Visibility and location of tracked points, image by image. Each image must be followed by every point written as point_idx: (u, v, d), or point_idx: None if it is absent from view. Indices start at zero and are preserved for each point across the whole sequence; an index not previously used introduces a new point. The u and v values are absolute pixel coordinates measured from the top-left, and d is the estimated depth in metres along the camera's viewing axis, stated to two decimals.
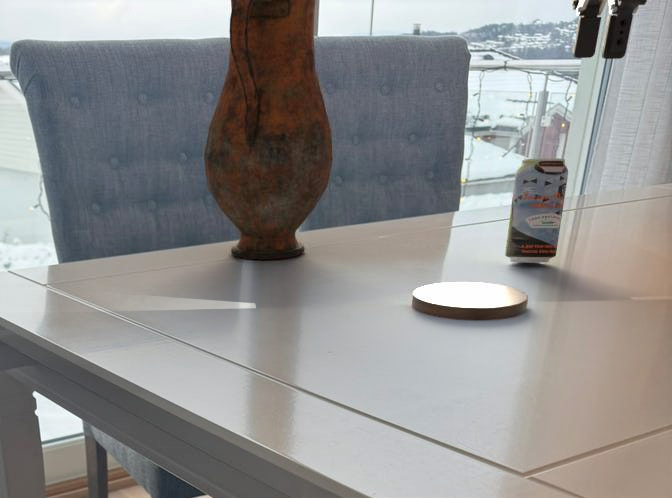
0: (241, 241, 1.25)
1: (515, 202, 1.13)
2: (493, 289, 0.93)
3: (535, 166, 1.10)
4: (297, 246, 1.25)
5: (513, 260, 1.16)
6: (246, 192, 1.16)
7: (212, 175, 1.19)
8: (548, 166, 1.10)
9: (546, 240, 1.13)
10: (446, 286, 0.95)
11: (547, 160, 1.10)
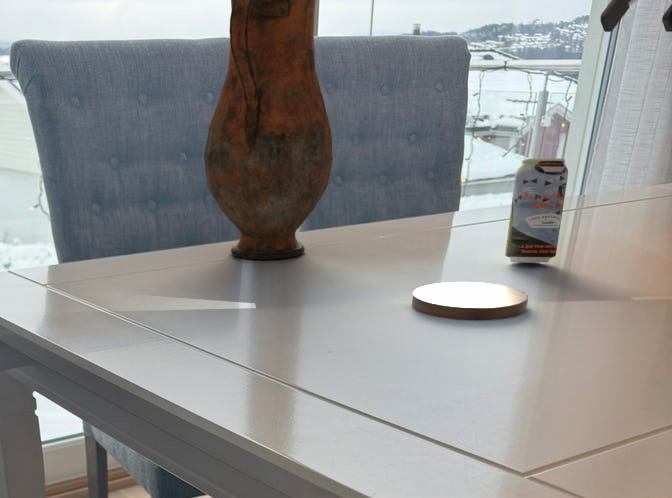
0: (241, 241, 1.25)
1: (515, 202, 1.13)
2: (493, 289, 0.93)
3: (535, 166, 1.10)
4: (297, 246, 1.25)
5: (513, 260, 1.16)
6: (246, 192, 1.16)
7: (212, 175, 1.19)
8: (548, 166, 1.10)
9: (546, 240, 1.13)
10: (446, 286, 0.95)
11: (547, 160, 1.10)
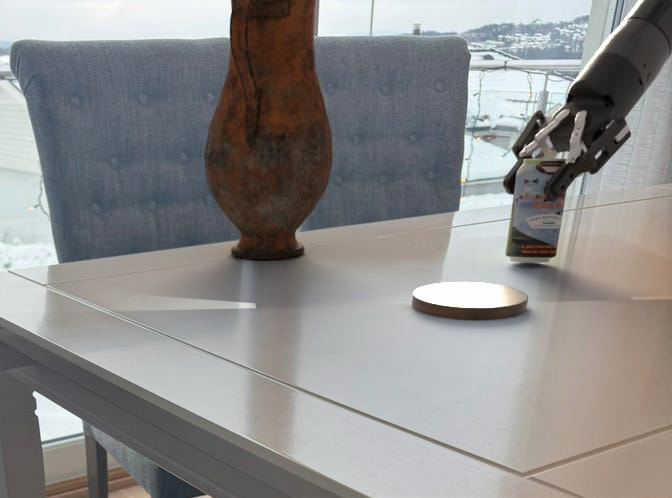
0: (241, 241, 1.25)
1: (516, 201, 1.13)
2: (493, 289, 0.93)
3: (536, 166, 1.10)
4: (297, 246, 1.25)
5: (513, 260, 1.16)
6: (246, 192, 1.16)
7: (212, 175, 1.19)
8: (549, 166, 1.10)
9: (546, 240, 1.13)
10: (446, 286, 0.95)
11: (548, 160, 1.10)
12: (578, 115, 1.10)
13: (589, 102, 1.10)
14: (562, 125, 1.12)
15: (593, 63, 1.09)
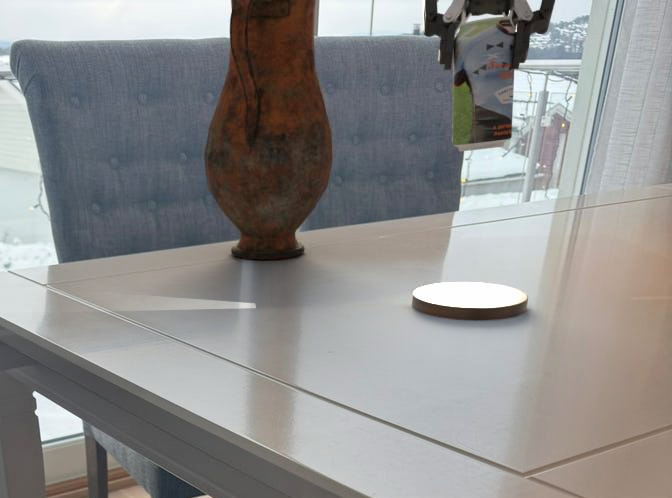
0: (241, 241, 1.25)
1: (476, 74, 0.93)
2: (493, 289, 0.93)
3: (498, 27, 0.91)
4: (297, 246, 1.25)
5: (476, 147, 0.97)
6: (246, 192, 1.16)
7: (212, 175, 1.19)
8: (509, 26, 0.92)
9: (511, 118, 0.96)
10: (446, 286, 0.95)
11: (505, 19, 0.92)
12: None
13: None
14: None
15: None
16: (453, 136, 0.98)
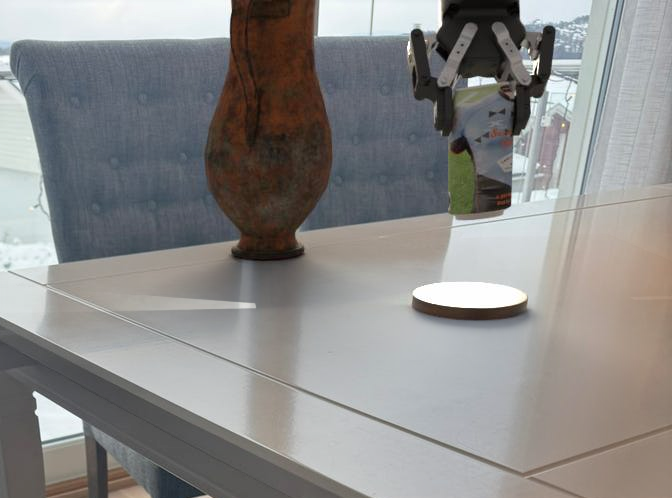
0: (241, 241, 1.25)
1: (478, 142, 0.88)
2: (493, 289, 0.93)
3: (499, 93, 0.86)
4: (297, 246, 1.25)
5: (478, 217, 0.91)
6: (246, 192, 1.16)
7: (212, 175, 1.19)
8: (509, 92, 0.87)
9: (511, 185, 0.91)
10: (446, 286, 0.95)
11: (506, 84, 0.86)
12: (494, 28, 0.88)
13: (485, 13, 0.89)
14: (471, 43, 0.89)
15: None
16: (451, 205, 0.92)
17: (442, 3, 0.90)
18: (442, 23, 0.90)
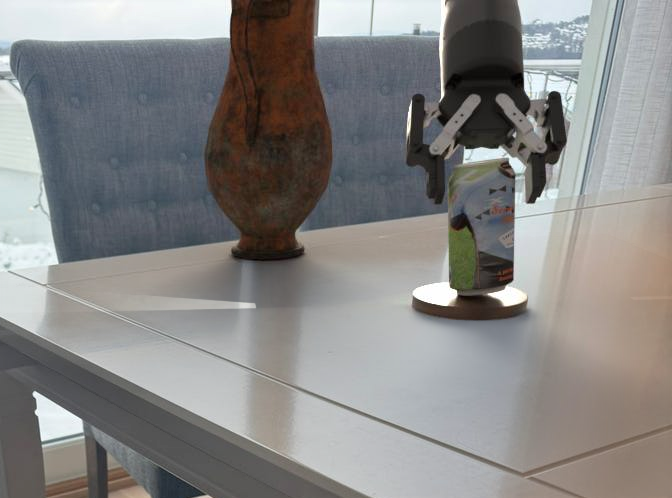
0: (241, 241, 1.25)
1: (478, 219, 0.86)
2: None
3: (500, 170, 0.84)
4: (297, 246, 1.25)
5: (480, 293, 0.89)
6: (246, 192, 1.16)
7: (212, 175, 1.19)
8: (510, 168, 0.85)
9: (513, 260, 0.89)
10: (446, 286, 0.95)
11: (506, 161, 0.85)
12: (498, 100, 0.86)
13: (489, 84, 0.87)
14: (474, 114, 0.86)
15: (484, 34, 0.85)
16: (452, 280, 0.90)
17: (445, 73, 0.88)
18: (444, 93, 0.87)
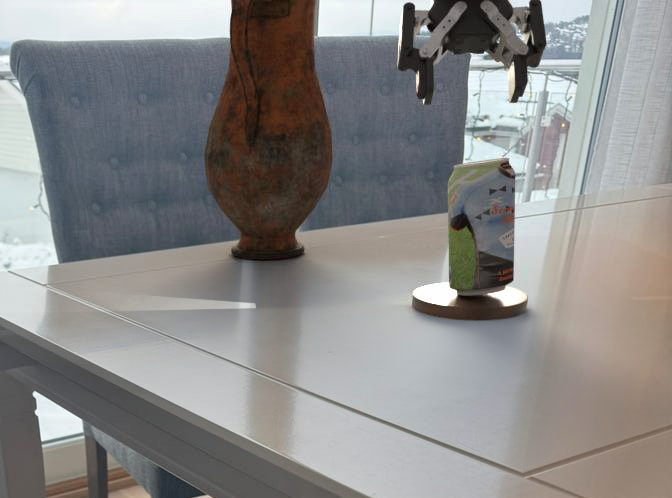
0: (241, 241, 1.25)
1: (478, 219, 0.86)
2: None
3: (500, 170, 0.84)
4: (297, 246, 1.25)
5: (479, 293, 0.89)
6: (246, 192, 1.16)
7: (212, 175, 1.19)
8: (510, 168, 0.85)
9: (513, 260, 0.89)
10: (446, 286, 0.95)
11: (506, 161, 0.85)
12: (483, 6, 0.93)
13: None
14: (461, 21, 0.93)
15: None
16: (452, 280, 0.90)
17: None
18: (433, 2, 0.94)
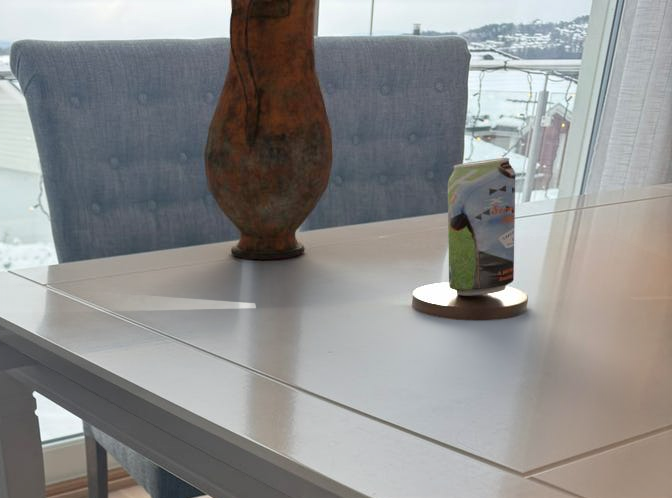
0: (241, 241, 1.25)
1: (478, 219, 0.86)
2: None
3: (500, 170, 0.84)
4: (297, 246, 1.25)
5: (479, 293, 0.89)
6: (246, 192, 1.16)
7: (212, 175, 1.19)
8: (510, 168, 0.85)
9: (513, 260, 0.89)
10: (446, 286, 0.95)
11: (506, 161, 0.85)
12: None
13: None
14: None
15: None
16: (452, 280, 0.90)
17: None
18: None
